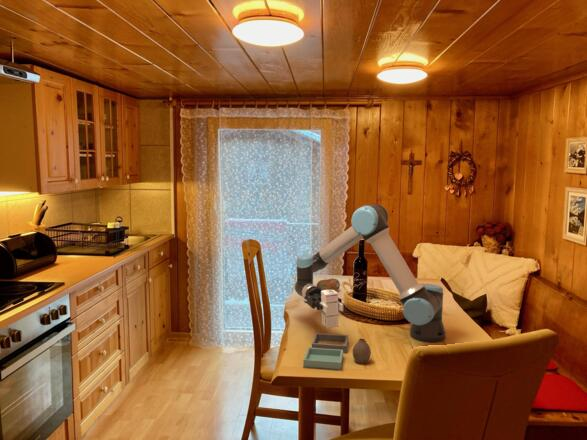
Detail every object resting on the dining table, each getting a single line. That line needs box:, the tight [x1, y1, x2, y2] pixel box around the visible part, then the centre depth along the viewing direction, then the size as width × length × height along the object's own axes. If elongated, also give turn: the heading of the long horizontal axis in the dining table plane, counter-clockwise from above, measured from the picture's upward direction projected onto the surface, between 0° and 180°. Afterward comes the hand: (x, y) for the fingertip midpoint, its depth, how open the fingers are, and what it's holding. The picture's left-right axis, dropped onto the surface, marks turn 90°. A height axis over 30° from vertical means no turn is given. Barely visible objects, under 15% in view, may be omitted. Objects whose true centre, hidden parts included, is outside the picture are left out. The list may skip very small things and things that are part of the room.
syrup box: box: [320, 290, 339, 329], centre depth 198 cm, size 6×6×14 cm
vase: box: [352, 338, 372, 364], centre depth 185 cm, size 7×7×9 cm
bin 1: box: [311, 332, 349, 354], centre depth 200 cm, size 14×12×3 cm
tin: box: [315, 277, 341, 293], centre depth 277 cm, size 15×3×8 cm, turn 119°
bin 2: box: [302, 347, 344, 371], centre depth 184 cm, size 14×12×3 cm
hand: (334, 309), depth 193 cm, fingers closed on syrup box, 6 cm apart
